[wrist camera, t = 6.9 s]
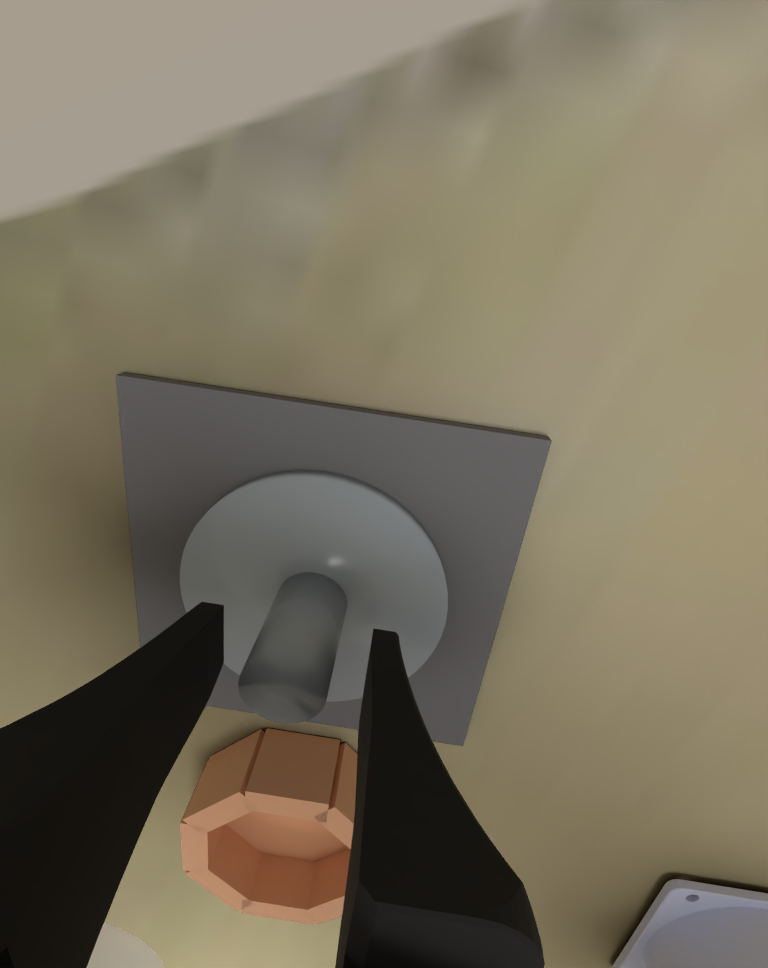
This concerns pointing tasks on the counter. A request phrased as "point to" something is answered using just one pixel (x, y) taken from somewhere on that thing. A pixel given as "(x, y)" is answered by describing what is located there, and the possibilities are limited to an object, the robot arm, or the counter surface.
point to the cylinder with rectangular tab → (121, 951)
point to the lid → (313, 586)
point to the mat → (348, 451)
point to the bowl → (274, 825)
